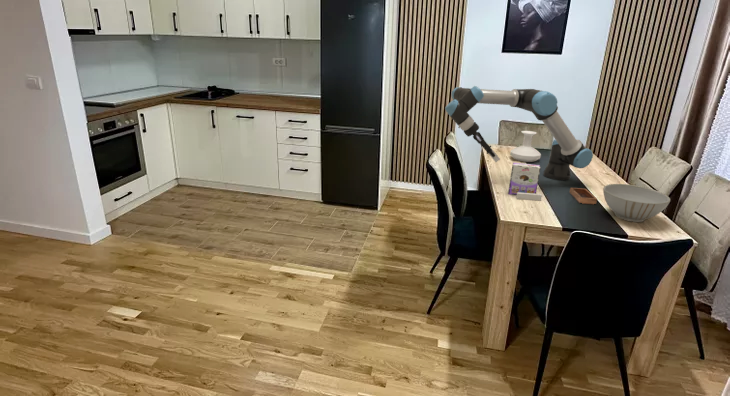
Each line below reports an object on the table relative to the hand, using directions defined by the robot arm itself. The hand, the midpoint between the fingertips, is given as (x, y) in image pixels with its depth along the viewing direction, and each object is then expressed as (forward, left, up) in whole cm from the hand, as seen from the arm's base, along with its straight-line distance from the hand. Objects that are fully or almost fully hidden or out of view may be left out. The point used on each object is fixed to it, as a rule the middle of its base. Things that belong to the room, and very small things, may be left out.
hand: (497, 159), depth 221 cm
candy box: (-15, 0, -18) cm, 24 cm away
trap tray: (-46, 0, -18) cm, 50 cm away
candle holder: (-33, -74, -18) cm, 83 cm away
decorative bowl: (-60, +22, -18) cm, 67 cm away
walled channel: (-17, 0, -18) cm, 25 cm away
